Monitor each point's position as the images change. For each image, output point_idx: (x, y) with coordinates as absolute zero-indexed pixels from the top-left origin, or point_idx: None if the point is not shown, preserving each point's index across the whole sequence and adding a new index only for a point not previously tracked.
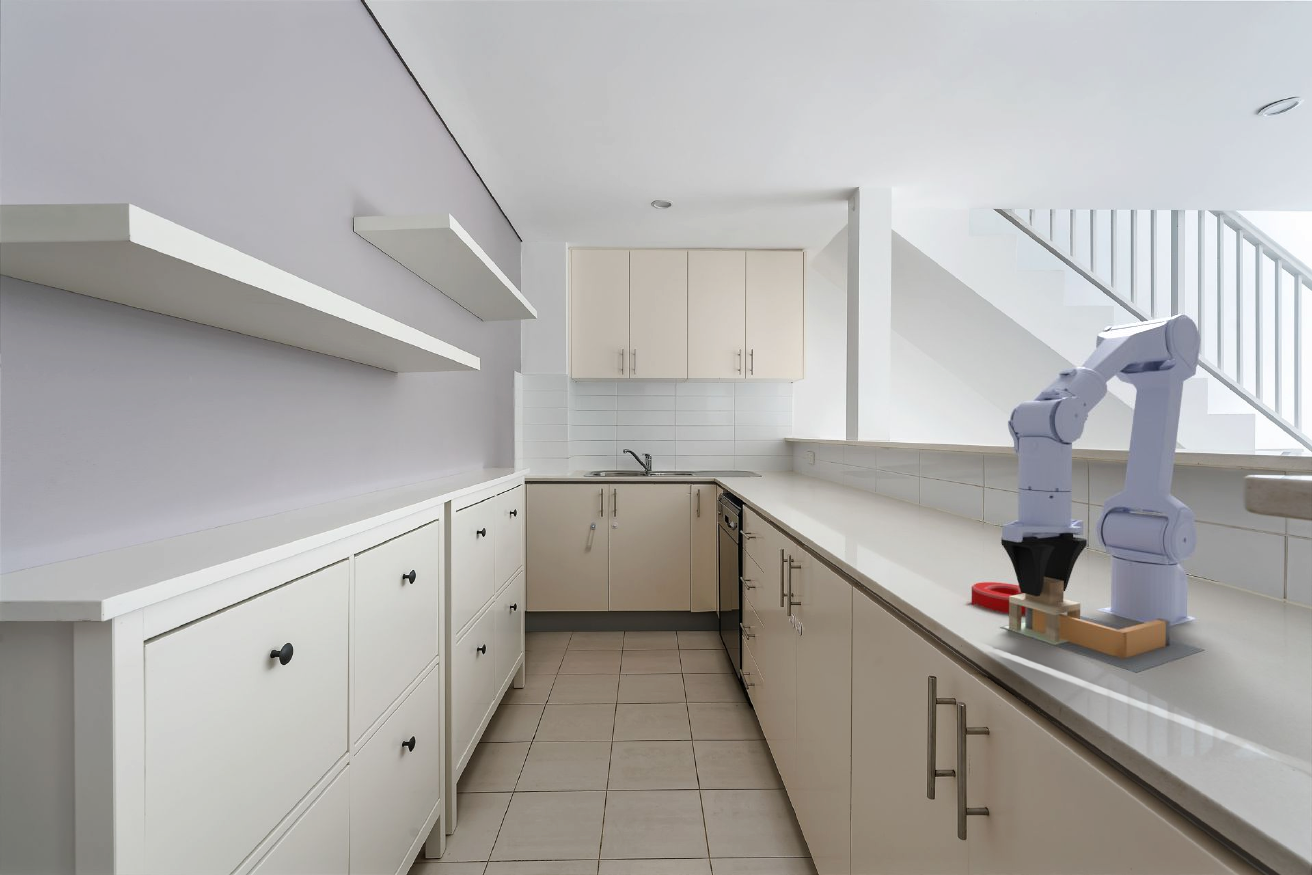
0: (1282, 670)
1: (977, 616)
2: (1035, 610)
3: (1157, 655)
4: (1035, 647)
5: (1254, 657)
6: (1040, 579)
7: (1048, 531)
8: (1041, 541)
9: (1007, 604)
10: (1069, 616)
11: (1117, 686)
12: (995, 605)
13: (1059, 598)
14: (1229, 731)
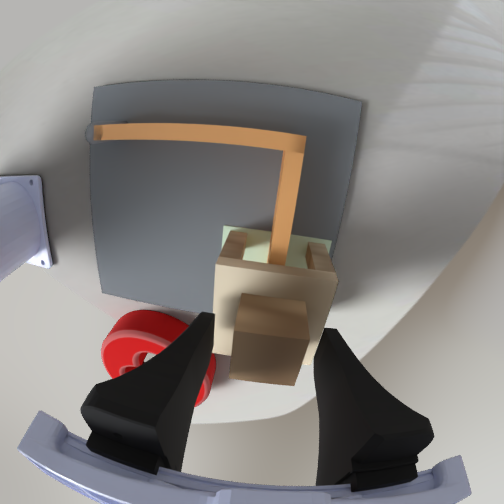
0: (86, 20)
1: None
2: None
3: (209, 104)
4: (347, 260)
5: (56, 61)
6: (353, 356)
7: (385, 501)
8: (179, 460)
9: None
10: (270, 258)
11: (424, 119)
12: (211, 368)
13: (259, 301)
14: (443, 12)
